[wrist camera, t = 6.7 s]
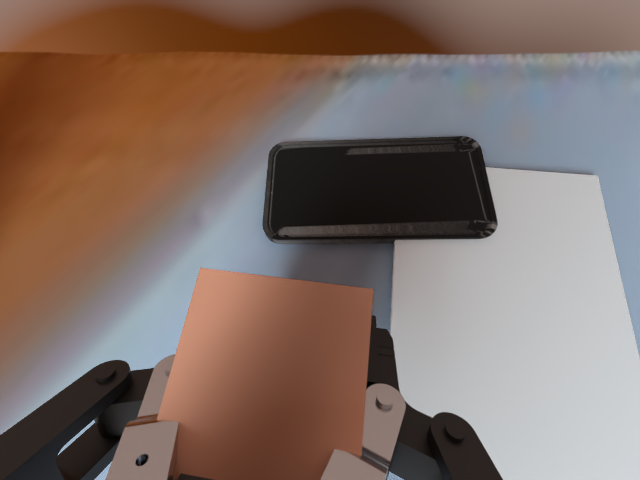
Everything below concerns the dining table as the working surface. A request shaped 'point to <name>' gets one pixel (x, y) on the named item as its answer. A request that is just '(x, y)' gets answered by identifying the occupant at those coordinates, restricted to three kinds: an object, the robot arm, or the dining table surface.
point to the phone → (377, 191)
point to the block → (268, 377)
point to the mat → (525, 332)
